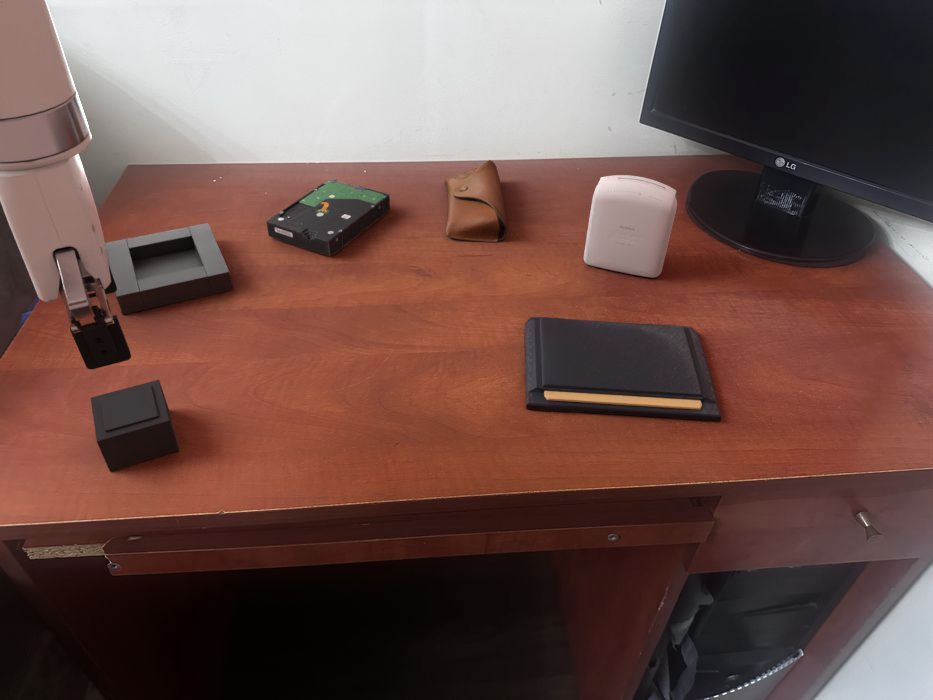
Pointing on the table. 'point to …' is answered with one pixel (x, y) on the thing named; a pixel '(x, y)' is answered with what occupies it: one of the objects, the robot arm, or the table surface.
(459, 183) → the sunglasses case
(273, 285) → the table surface
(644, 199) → the photo printer
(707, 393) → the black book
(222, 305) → the table surface
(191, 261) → the docking pad
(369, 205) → the disk drive
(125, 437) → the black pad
